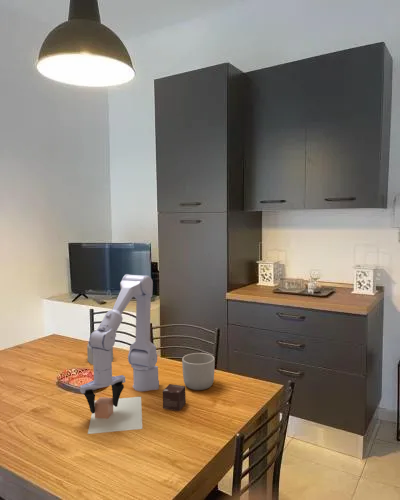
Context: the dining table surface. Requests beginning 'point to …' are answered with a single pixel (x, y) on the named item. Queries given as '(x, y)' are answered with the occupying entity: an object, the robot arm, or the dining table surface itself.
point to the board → (119, 417)
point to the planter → (198, 370)
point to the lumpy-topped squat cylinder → (90, 355)
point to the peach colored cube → (103, 407)
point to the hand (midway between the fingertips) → (104, 408)
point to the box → (174, 397)
